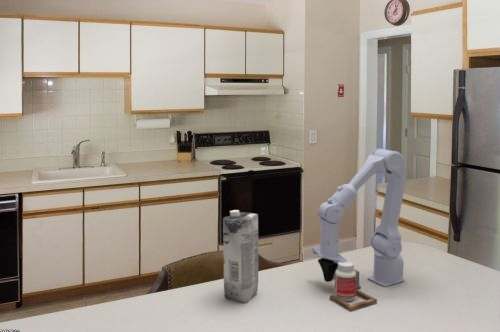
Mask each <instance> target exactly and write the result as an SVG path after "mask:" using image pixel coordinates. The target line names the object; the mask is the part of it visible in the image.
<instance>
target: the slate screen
mask: <svg viewBox="0 0 500 332" xmlns="http://www.w3.org/2000/svg"><path fill="white" fill-rule="evenodd" d="M337 269H339V268H338V267H337V268H336V270H337ZM336 270H335V272H336ZM353 270H354V271H355V272H356V289H357V290H359V291H360V290H361V289H362V286H361V285H360V271H359V270H356V269H355V268H353ZM333 280H335V273H334V276H333Z"/></svg>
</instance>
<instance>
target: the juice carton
mask: <svg viewBox="0 0 500 332" xmlns="http://www.w3.org/2000/svg"><path fill="white" fill-rule="evenodd" d="M222 239H223V241H222V243H223V244H222V245H223V246H222V249H223V290H224V298H225V299H226V300H229V301H235V302H239V303H244V304H245V303H247V302H248V301H249V300H250V299H251V298H253V297H254V296H255V295H256V294H257V292H258V290H259V214H258V213H255V212H254V213H252V212H244V211H240V210H239V209H233V210H229V215H228V216H224V217H223V218H222Z"/></svg>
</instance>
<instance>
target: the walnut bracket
mask: <svg viewBox="0 0 500 332" xmlns="http://www.w3.org/2000/svg"><path fill="white" fill-rule="evenodd" d="M355 296H357V297H358V298H362V299H363V301H360V302H355V303H352V304H351V303H348V302H345V301H343V300H341V299H339V298H337V297H336V296H335V294H332V295H331V294H330V295H329V300H330V301H331V302H333V303H335V304H337V305H339V306H340V307H342V308H343V309H346V310H347V311H349V312H353V311H356V310H359V309H362V308H366V307H370V306H372V305H376V304H378V299H377V298H375V297H374V296H371V295H369V294H367V293H365V292H363V291H361V290H360V289H359V290H357V289H356V292H355Z"/></svg>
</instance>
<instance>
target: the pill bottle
mask: <svg viewBox="0 0 500 332" xmlns="http://www.w3.org/2000/svg"><path fill="white" fill-rule="evenodd" d="M338 268H339V269H337V270H336V272H335V279H334V296H336V297H337V298H339V299H341V300H343V301H345V302H346V303H348V302H353V301H354V300H355V299H356V295H355V292H356V272H355V271H354V270H353V269H355V265H354V263H353V262H352V261H348V260H347V262H343V263H341V262H338Z"/></svg>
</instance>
